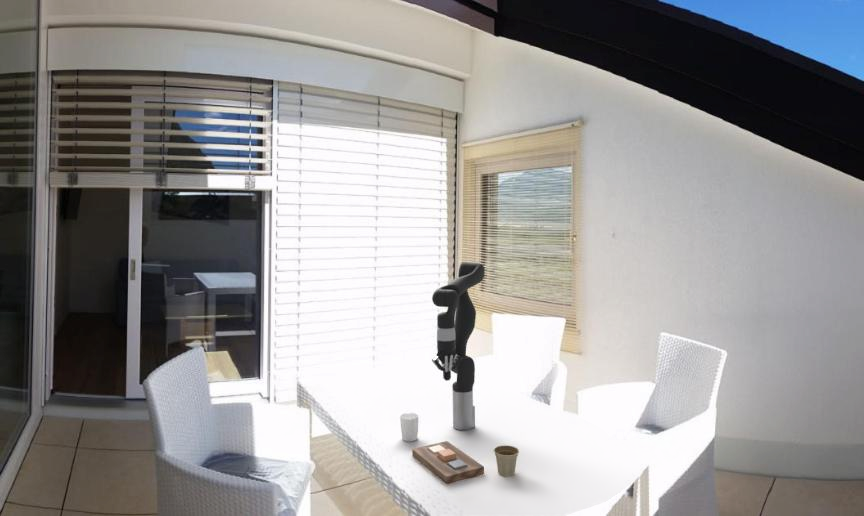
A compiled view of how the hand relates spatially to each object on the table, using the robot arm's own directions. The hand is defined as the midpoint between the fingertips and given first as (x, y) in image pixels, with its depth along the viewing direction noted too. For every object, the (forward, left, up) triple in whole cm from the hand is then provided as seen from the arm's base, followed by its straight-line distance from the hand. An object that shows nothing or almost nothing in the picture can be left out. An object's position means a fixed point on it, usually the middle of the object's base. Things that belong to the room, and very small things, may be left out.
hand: (447, 379), depth 230 cm
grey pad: (+8, +21, -28) cm, 36 cm away
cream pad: (+8, +5, -28) cm, 30 cm away
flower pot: (-8, +30, -29) cm, 43 cm away
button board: (+8, +13, -29) cm, 33 cm away
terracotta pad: (+8, +13, -27) cm, 31 cm away
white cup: (+9, -18, -29) cm, 35 cm away
